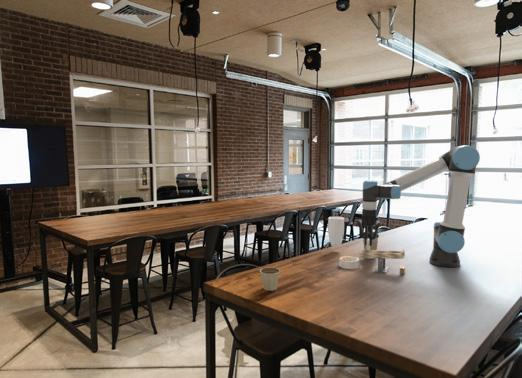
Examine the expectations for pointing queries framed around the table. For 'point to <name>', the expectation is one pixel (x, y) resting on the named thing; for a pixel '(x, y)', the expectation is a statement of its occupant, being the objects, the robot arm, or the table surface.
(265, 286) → the flower pot
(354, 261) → the bowl
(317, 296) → the table surface
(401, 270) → the fulcrum
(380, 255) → the lever
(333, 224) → the cup
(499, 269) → the table surface
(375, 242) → the coffee cup
